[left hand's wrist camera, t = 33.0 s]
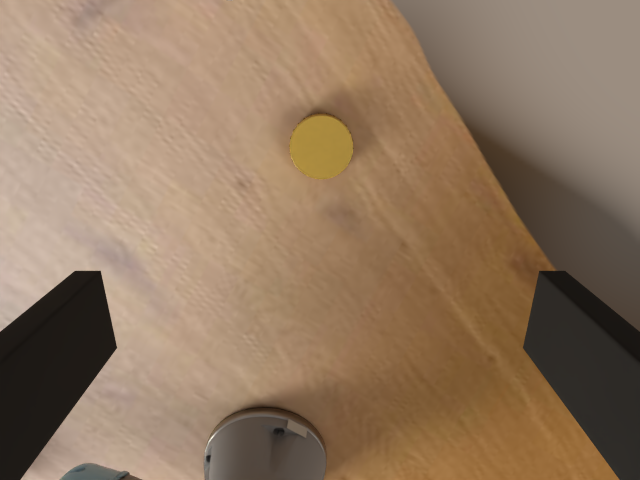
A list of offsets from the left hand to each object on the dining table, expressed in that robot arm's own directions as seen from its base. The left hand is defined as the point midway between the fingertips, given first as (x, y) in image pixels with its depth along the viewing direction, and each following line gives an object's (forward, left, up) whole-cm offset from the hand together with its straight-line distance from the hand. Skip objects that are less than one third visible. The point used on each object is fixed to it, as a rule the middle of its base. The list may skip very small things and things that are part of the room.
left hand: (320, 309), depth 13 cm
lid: (0, 0, -28) cm, 28 cm away
